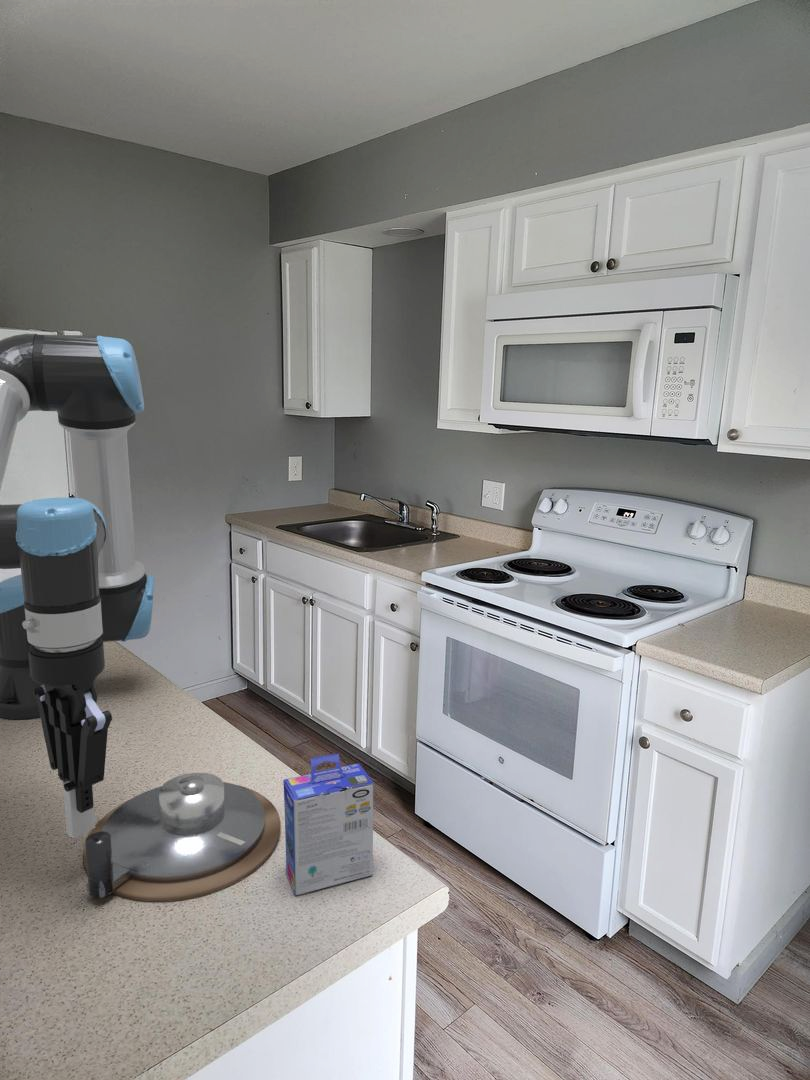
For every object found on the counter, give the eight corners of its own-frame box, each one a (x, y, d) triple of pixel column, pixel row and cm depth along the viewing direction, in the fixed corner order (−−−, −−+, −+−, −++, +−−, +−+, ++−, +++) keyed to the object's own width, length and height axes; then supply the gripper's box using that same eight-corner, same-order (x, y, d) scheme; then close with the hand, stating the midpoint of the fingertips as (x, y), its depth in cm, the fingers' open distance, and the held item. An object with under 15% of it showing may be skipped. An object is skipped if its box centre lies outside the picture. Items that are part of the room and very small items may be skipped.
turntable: (33, 868, 86) (28, 818, 84) (184, 774, 107) (182, 733, 105) (157, 929, 76) (154, 874, 75) (295, 813, 98) (295, 769, 96)
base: (66, 820, 96) (65, 815, 96) (238, 770, 110) (238, 765, 110) (111, 932, 77) (110, 925, 77) (313, 854, 91) (313, 848, 91)
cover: (146, 823, 93) (144, 787, 92) (192, 793, 100) (190, 760, 99) (193, 842, 89) (192, 806, 88) (237, 810, 96) (236, 775, 95)
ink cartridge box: (359, 849, 92) (360, 744, 89) (375, 876, 87) (377, 765, 84) (282, 868, 88) (281, 759, 85) (295, 897, 83) (294, 782, 80)
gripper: (3, 635, 81) (22, 823, 86) (62, 666, 73) (79, 871, 78) (68, 618, 87) (82, 796, 92) (130, 645, 79) (141, 837, 84)
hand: (81, 830), depth 85 cm, fingers closed
